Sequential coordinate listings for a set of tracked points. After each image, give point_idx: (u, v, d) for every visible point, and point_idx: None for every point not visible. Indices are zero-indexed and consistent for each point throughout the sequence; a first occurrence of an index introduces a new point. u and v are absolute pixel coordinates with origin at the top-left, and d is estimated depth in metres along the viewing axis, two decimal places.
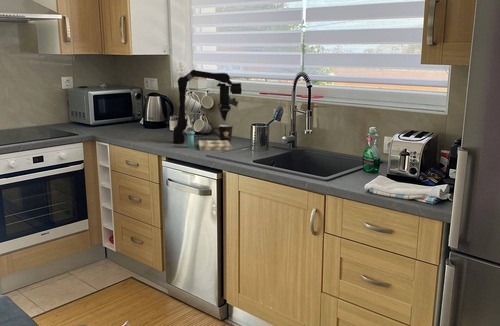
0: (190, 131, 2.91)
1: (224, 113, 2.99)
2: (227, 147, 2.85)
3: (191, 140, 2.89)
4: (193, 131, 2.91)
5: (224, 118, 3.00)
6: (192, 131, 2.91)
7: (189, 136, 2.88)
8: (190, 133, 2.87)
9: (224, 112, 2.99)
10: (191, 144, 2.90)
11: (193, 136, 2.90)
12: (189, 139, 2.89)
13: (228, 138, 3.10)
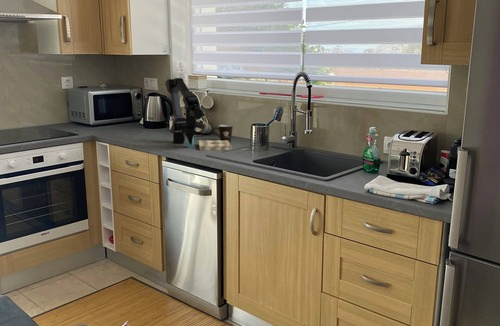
0: None
1: (190, 136, 2.87)
2: (227, 147, 2.85)
3: None
4: None
5: (190, 142, 2.89)
6: None
7: None
8: None
9: (190, 135, 2.87)
10: (191, 144, 2.90)
11: (193, 136, 2.90)
12: None
13: (228, 138, 3.10)
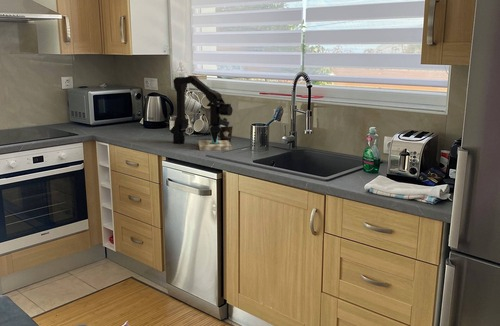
0: None
1: (214, 134, 2.87)
2: (227, 147, 2.85)
3: None
4: None
5: (215, 140, 2.88)
6: None
7: None
8: None
9: (214, 133, 2.87)
10: None
11: (217, 136, 2.92)
12: None
13: (228, 138, 3.10)
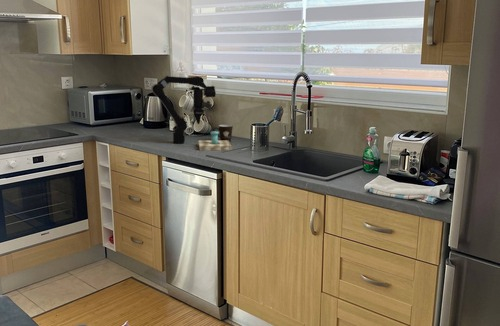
0: (214, 131, 2.93)
1: (198, 116, 2.99)
2: (227, 147, 2.85)
3: (215, 140, 2.91)
4: (217, 131, 2.93)
5: (198, 122, 3.01)
6: (216, 131, 2.93)
7: (213, 136, 2.90)
8: (214, 133, 2.89)
9: (198, 115, 2.99)
10: None
11: (217, 136, 2.92)
12: (213, 139, 2.91)
13: (228, 138, 3.10)
